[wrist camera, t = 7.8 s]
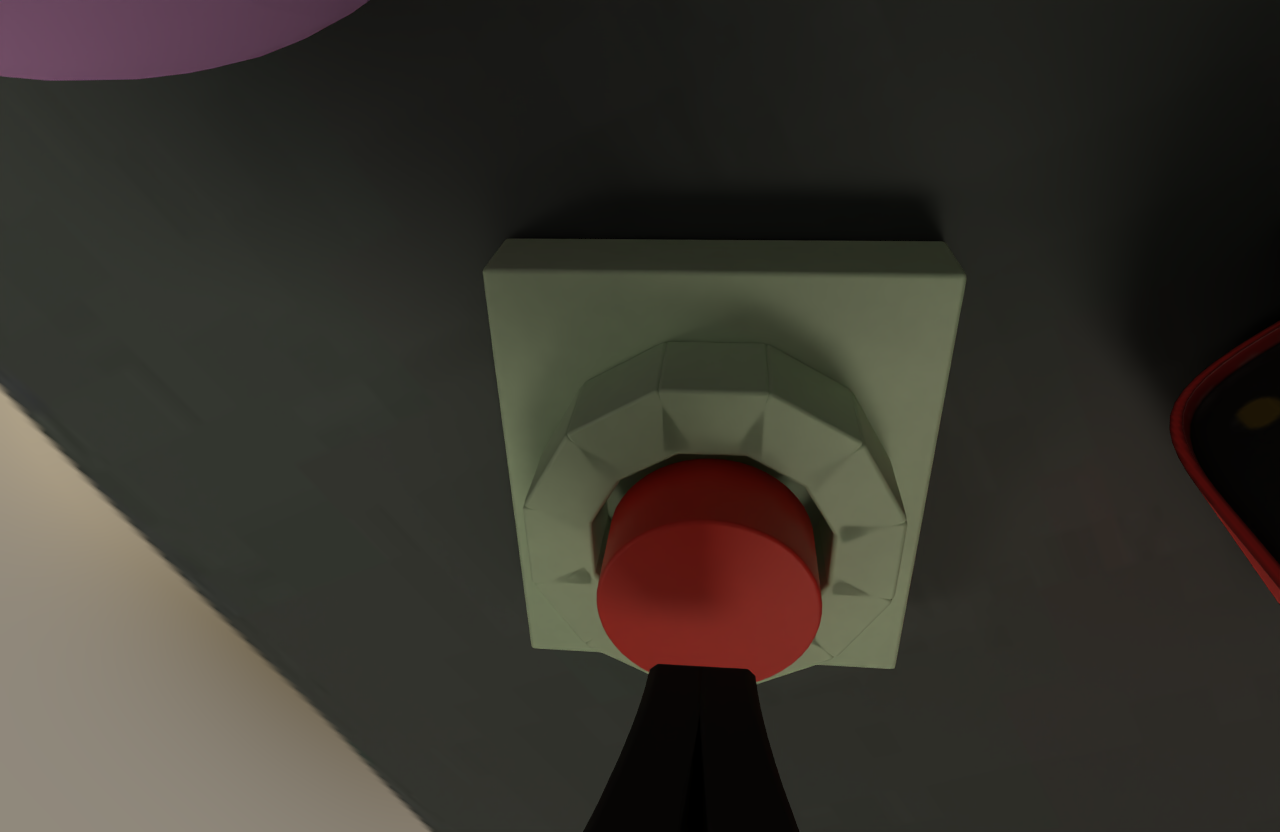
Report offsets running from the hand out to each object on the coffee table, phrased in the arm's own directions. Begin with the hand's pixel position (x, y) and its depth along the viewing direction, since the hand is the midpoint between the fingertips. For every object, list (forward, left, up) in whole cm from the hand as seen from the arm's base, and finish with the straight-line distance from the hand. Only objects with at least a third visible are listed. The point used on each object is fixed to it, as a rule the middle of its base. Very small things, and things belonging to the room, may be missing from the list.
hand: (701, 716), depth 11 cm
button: (0, 0, -4) cm, 4 cm away
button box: (0, 0, -7) cm, 7 cm away
